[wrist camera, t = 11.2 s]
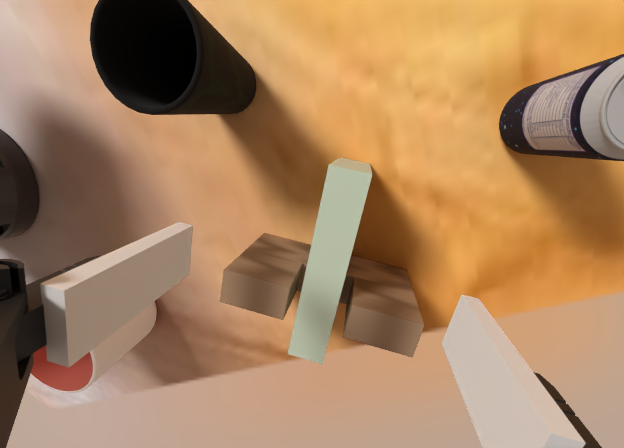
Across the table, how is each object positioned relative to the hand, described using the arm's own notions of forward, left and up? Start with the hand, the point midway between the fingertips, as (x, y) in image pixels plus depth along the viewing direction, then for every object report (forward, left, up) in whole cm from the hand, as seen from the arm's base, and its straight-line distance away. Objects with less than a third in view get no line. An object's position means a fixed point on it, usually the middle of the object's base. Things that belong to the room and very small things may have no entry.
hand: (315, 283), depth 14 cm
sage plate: (0, -3, -18) cm, 18 cm away
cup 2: (-14, +9, -18) cm, 24 cm away
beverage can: (+14, +11, -18) cm, 25 cm away
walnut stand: (0, -7, -18) cm, 19 cm away
